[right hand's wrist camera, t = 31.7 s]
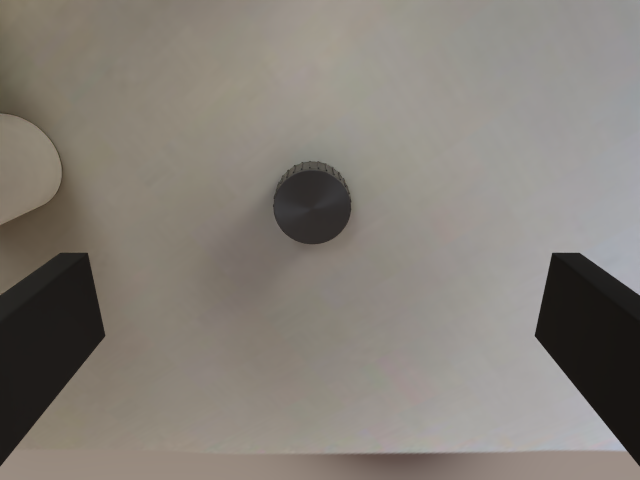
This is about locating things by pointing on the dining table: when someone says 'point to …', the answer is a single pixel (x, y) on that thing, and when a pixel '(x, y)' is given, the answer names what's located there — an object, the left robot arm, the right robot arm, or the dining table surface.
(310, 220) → the cap
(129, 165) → the dining table surface
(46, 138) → the bottle
